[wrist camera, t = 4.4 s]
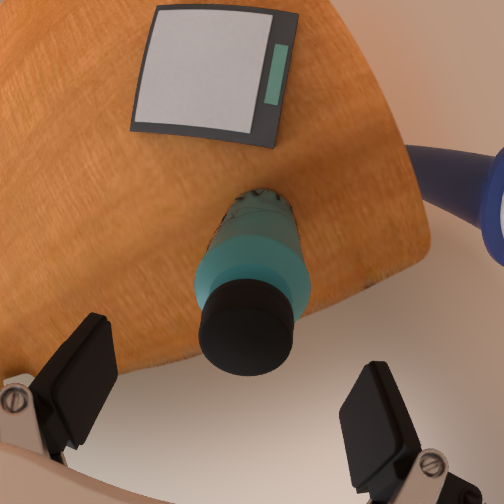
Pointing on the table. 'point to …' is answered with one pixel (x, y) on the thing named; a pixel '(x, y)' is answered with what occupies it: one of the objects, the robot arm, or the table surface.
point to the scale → (215, 72)
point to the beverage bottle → (252, 286)
